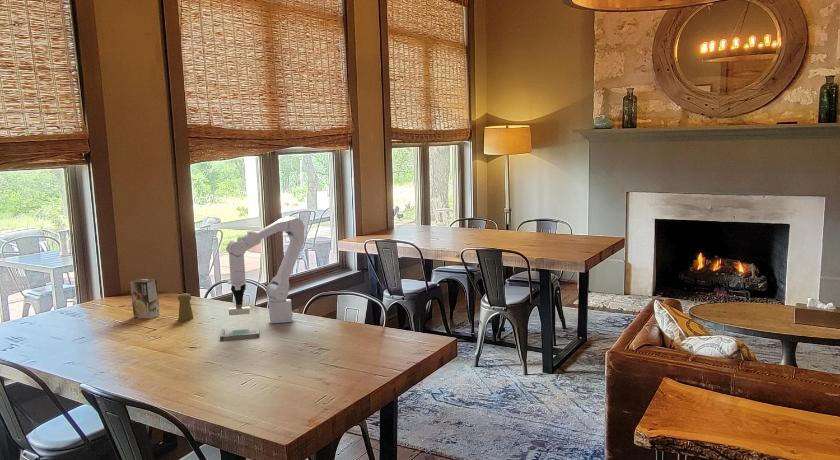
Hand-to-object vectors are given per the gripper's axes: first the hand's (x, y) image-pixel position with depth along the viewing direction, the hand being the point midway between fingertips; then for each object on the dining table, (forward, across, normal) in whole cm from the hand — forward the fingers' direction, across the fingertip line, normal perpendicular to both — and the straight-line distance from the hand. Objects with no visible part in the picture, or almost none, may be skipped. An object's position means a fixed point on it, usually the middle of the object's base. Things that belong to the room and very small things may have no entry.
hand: (239, 303), depth 254 cm
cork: (+10, -20, -23) cm, 32 cm away
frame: (+10, +8, 0) cm, 13 cm away
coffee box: (+10, -29, -40) cm, 51 cm away
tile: (+11, +8, 0) cm, 14 cm away
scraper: (+4, 0, 0) cm, 4 cm away
